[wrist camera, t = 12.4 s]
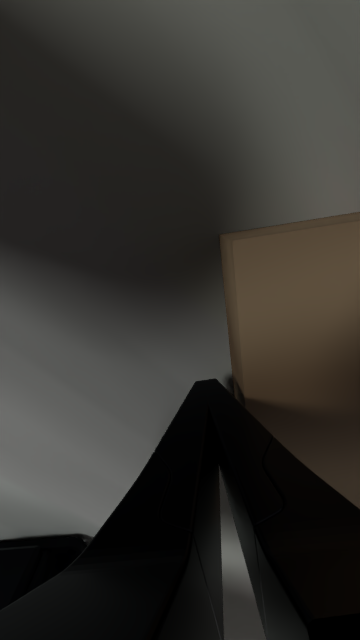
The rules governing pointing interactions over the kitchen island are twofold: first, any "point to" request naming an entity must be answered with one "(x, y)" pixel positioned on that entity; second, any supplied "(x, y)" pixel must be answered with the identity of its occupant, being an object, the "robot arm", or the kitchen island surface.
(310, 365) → the slab
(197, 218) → the kitchen island surface
